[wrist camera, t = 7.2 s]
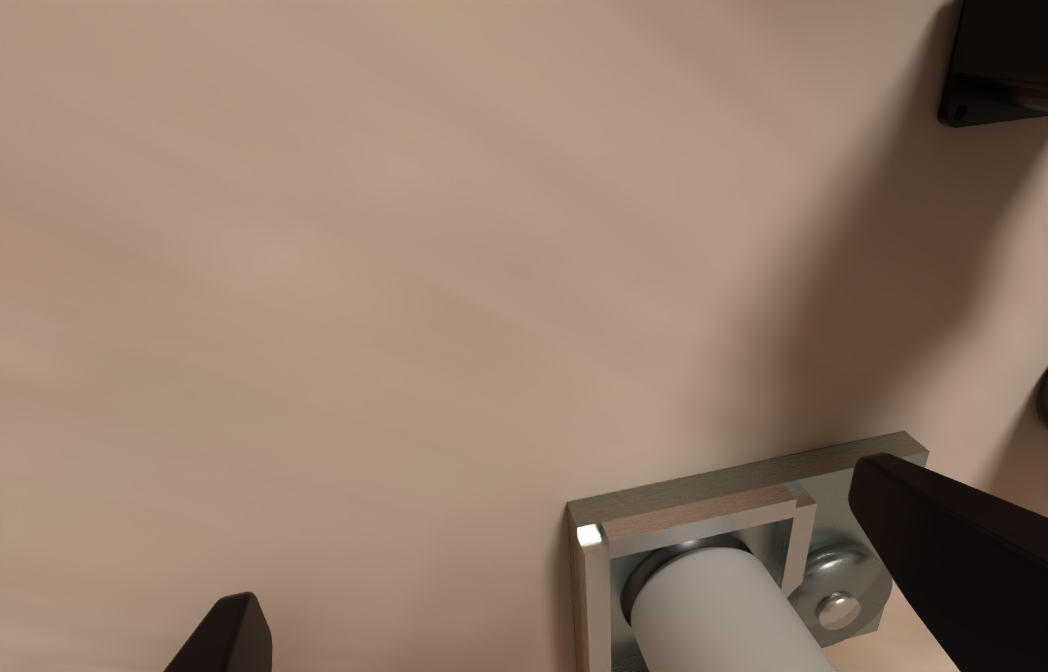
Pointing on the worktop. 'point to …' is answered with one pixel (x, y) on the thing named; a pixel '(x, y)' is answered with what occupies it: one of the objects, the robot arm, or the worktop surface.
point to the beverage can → (721, 618)
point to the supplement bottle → (1043, 403)
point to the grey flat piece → (733, 544)
